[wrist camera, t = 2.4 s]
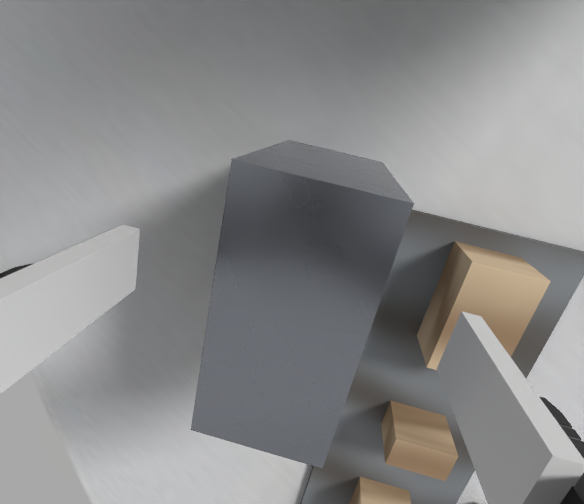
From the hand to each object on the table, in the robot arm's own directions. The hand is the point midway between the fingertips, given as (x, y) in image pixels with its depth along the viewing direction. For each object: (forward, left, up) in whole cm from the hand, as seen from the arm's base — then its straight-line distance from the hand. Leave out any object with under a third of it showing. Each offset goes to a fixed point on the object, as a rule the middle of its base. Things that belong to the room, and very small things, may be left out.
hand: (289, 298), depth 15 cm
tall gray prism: (0, 0, -7) cm, 7 cm away
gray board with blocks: (+10, +9, -7) cm, 15 cm away
